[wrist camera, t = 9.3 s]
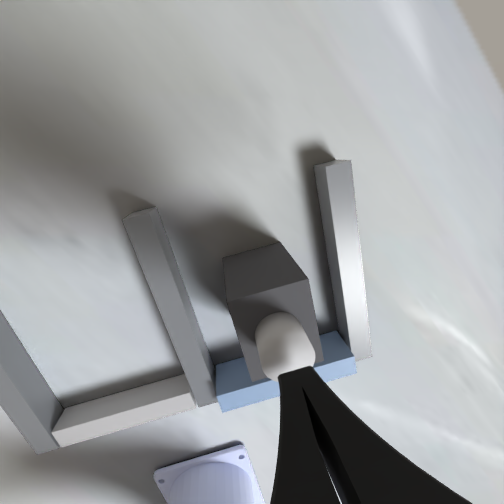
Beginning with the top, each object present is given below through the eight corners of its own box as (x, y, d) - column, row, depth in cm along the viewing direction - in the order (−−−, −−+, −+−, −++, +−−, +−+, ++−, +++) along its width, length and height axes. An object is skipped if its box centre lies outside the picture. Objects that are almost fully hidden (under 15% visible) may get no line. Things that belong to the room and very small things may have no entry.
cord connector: (293, 304, 21) (339, 389, 13) (241, 319, 21) (257, 414, 13) (280, 242, 19) (323, 299, 11) (222, 257, 19) (228, 326, 11)
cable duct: (359, 339, 22) (380, 366, 20) (52, 428, 21) (28, 469, 19) (336, 159, 18) (359, 160, 15) (-61, 262, 17) (-117, 284, 14)
